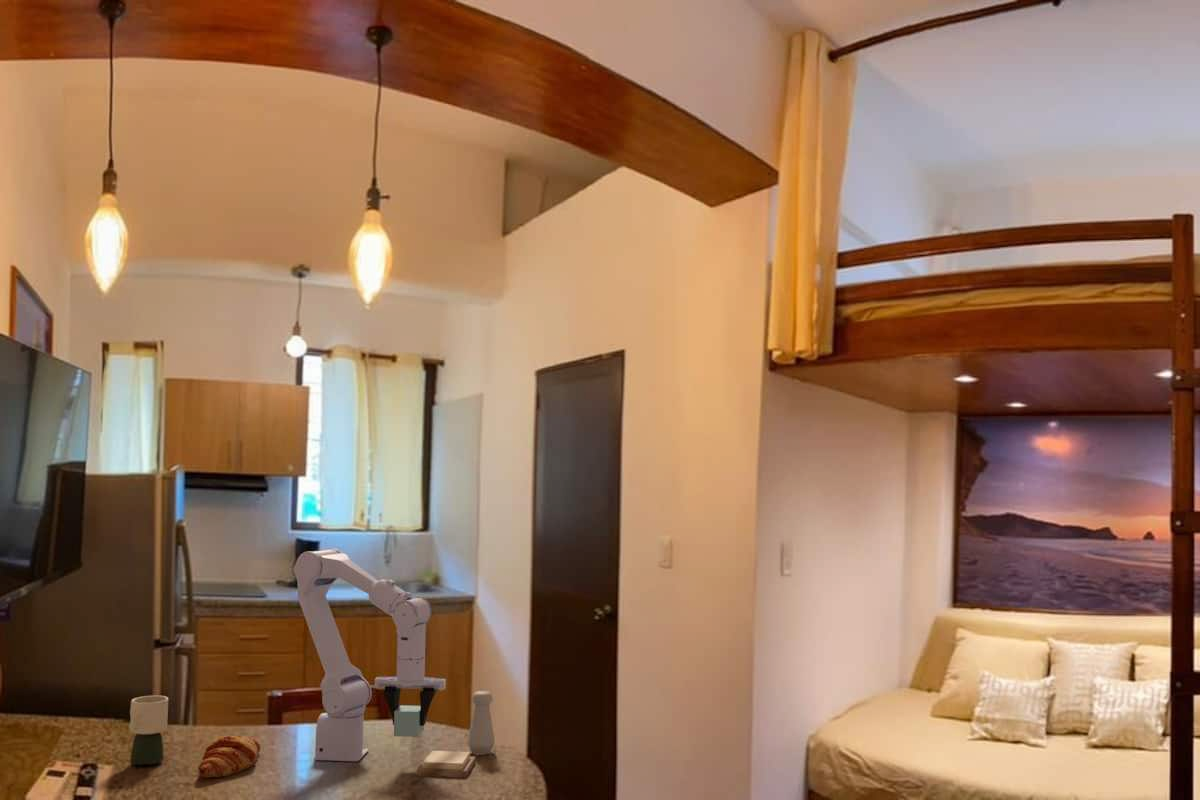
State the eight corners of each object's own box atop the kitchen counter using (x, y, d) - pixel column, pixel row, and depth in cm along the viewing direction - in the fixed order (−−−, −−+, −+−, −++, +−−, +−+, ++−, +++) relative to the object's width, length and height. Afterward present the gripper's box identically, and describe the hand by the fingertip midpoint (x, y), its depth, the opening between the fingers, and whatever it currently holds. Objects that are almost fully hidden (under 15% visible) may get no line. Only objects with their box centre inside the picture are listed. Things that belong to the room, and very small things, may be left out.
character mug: (148, 755, 210) (151, 692, 211) (178, 757, 208) (181, 694, 209) (113, 770, 199) (116, 704, 200) (145, 773, 198) (148, 706, 199)
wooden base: (416, 775, 199) (416, 763, 200) (427, 760, 209) (428, 749, 210) (466, 777, 199) (466, 765, 199) (475, 762, 209) (475, 750, 209)
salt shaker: (489, 758, 212) (490, 695, 213) (463, 755, 214) (465, 694, 214) (497, 750, 218) (499, 689, 219) (472, 748, 219) (474, 688, 220)
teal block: (393, 736, 204) (394, 711, 204) (400, 729, 209) (400, 705, 209) (418, 736, 203) (418, 711, 204) (423, 730, 208) (424, 705, 209)
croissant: (244, 768, 213) (229, 733, 215) (284, 748, 212) (269, 713, 214) (188, 798, 192) (173, 760, 194) (232, 776, 191) (216, 738, 193)
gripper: (371, 660, 203) (369, 728, 203) (441, 662, 203) (439, 730, 202) (380, 653, 210) (378, 719, 210) (448, 655, 210) (447, 721, 209)
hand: (409, 724), depth 206 cm, fingers closed on teal block, 5 cm apart
